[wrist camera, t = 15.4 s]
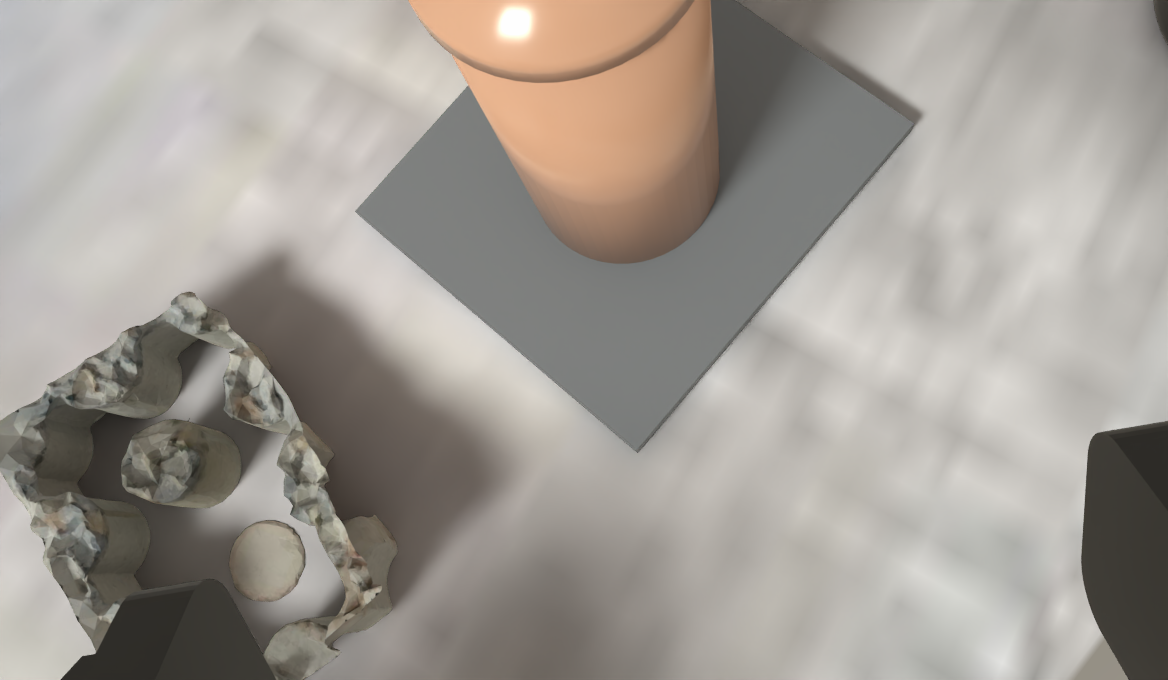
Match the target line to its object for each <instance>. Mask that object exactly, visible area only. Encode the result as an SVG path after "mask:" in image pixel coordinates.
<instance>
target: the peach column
mask: <svg viewBox="0 0 1168 680" xmlns="http://www.w3.org/2000/svg"><path fill="white" fill-rule="evenodd" d="M408 1H409V2H410V4H411V6H412V8H413V9H414V11H415V13H416V14H417V16H418V18H419V20H420V21H421V23H422V24H423V25H424V27H425V28H426V29H427V31H428V32H429V33H430V35H431V36H432V37H433V38H434V39H435V40H436V41H437V42H438V43H439V44H440V45H441V46H442V47H443V48H444V49H445V50H447V51H448V52H449V53H451V54H452V56H453V58H454V60H455V62H456V63H457V65H458V67H459V69H460V71H461V72H462V74H463V76H464V78H465V80H466V81H467V83H468V85H469V87H470V89H471V90H472V92H473V94H474V96H475V98H476V99H477V101H478V103H479V105H480V107H481V108H482V110H483V112H484V114H485V116H486V117H487V119H488V121H489V123H490V125H491V126H492V128H493V130H494V132H495V134H496V135H497V137H498V139H499V141H500V143H501V144H502V146H503V148H504V150H505V152H506V153H507V155H508V157H509V159H510V160H511V162H512V164H513V166H514V168H515V169H516V171H517V173H518V175H519V177H520V178H521V180H522V182H523V184H524V186H525V187H526V189H527V191H528V193H529V195H530V196H531V198H532V200H533V202H534V204H535V205H536V207H537V209H538V211H539V213H540V214H541V216H542V218H543V220H544V222H545V223H546V225H547V226H548V228H549V229H550V230H551V232H552V233H553V234H554V235H555V236H556V237H557V238H558V239H559V240H560V241H561V242H562V243H563V244H565V245H566V246H567V247H569V248H570V249H572V250H573V251H575V252H577V253H579V254H580V255H583V256H585V257H588V258H590V259H593V260H597V261H601V262H607V263H614V264H629V263H637V262H643V261H647V260H651V259H654V258H656V257H659V256H661V255H664V254H666V253H668V252H670V251H671V250H673V249H675V248H677V247H678V246H679V245H681V244H682V243H684V242H685V241H686V240H687V239H688V238H689V237H691V236H692V235H693V234H694V233H695V232H696V230H697V229H698V228H699V227H700V226H701V225H702V223H703V222H704V220H705V219H706V217H707V216H708V214H709V212H710V210H711V208H712V206H713V204H714V201H715V198H716V195H717V192H718V186H719V180H720V158H719V141H718V123H717V106H716V88H715V70H714V53H713V35H712V18H711V0H408Z"/></svg>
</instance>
